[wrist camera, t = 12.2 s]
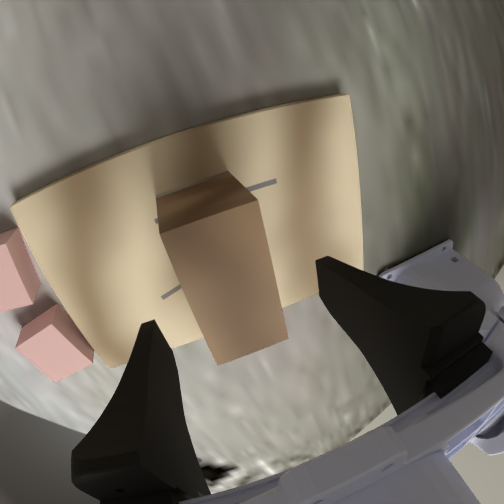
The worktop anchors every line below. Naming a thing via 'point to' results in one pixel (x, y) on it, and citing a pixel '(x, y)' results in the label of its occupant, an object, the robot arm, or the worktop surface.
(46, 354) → the eraser crumb
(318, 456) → the robot arm
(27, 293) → the eraser crumb
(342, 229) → the board
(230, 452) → the worktop surface
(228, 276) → the block
